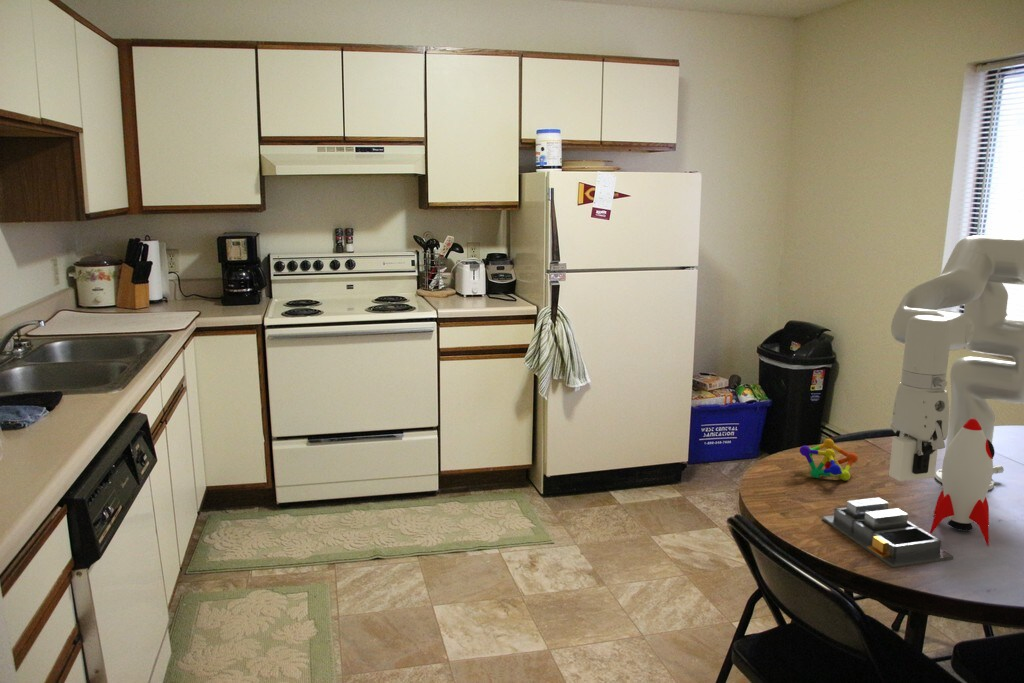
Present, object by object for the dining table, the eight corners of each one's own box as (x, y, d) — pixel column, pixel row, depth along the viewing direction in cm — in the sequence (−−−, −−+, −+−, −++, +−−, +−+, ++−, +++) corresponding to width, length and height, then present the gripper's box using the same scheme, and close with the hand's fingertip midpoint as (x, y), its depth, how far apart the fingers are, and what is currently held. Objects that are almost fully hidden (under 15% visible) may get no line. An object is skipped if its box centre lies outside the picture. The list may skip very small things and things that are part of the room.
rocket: (988, 546, 155) (1004, 430, 149) (929, 534, 160) (943, 421, 155) (989, 525, 164) (1004, 415, 159) (933, 514, 169) (946, 408, 164)
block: (923, 472, 152) (927, 434, 150) (934, 477, 149) (938, 439, 147) (888, 475, 150) (892, 437, 148) (899, 481, 147) (903, 442, 145)
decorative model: (871, 462, 190) (839, 459, 181) (855, 491, 192) (822, 490, 184) (829, 435, 200) (797, 432, 191) (814, 463, 202) (781, 461, 193)
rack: (876, 512, 171) (879, 489, 169) (953, 559, 150) (956, 532, 148) (822, 519, 167) (824, 495, 166) (892, 567, 146) (895, 541, 145)
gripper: (973, 389, 138) (961, 483, 142) (908, 368, 154) (899, 454, 158) (939, 392, 137) (927, 487, 141) (877, 370, 152) (868, 456, 156)
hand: (912, 468), depth 149 cm, fingers closed on block, 3 cm apart
